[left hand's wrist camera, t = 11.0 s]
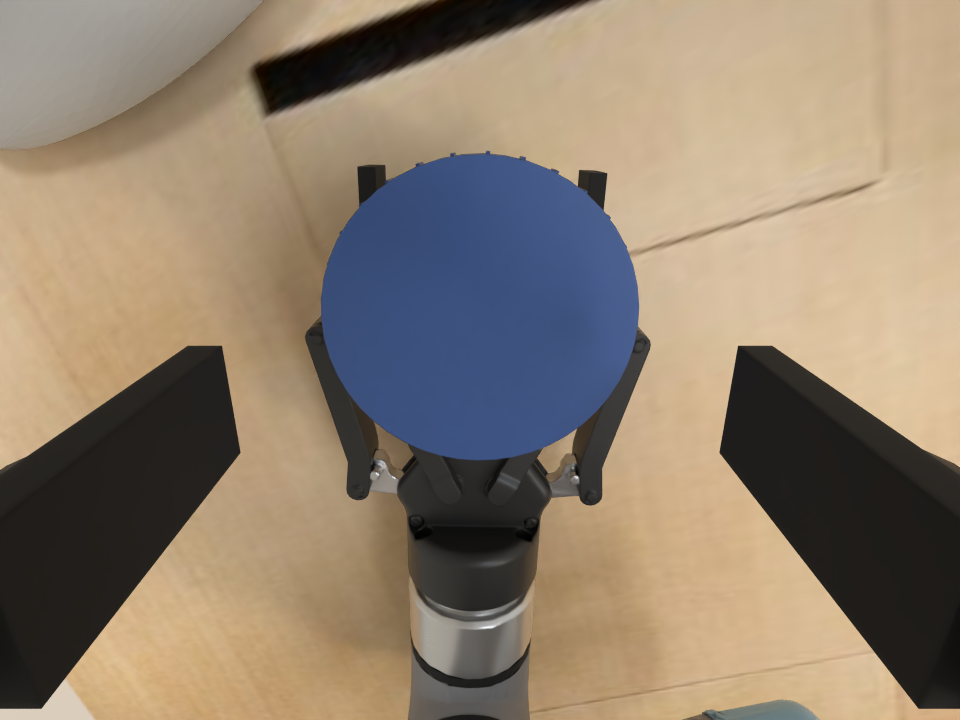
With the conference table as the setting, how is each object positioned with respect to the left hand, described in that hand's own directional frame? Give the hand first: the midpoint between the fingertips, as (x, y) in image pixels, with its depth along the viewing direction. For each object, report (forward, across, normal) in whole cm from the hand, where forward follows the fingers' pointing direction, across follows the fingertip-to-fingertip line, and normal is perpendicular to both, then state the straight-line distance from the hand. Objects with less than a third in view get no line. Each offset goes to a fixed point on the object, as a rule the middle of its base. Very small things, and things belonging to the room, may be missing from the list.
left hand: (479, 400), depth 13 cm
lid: (+6, 0, 0) cm, 6 cm away
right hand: (+15, 0, -4) cm, 16 cm away
